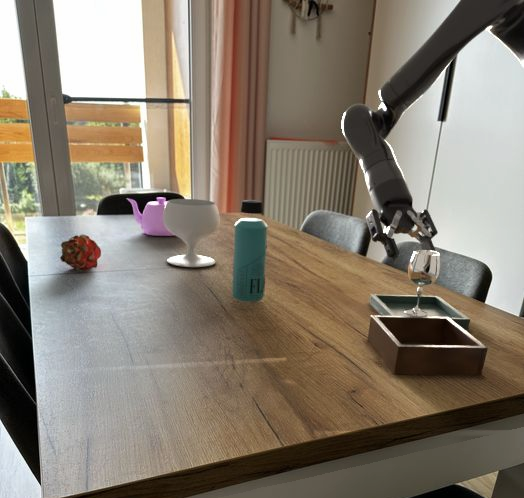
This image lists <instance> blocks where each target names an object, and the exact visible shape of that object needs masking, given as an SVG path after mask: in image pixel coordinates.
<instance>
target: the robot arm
mask: <svg viewBox="0 0 524 498" xmlns="http://www.w3.org/2000/svg"><path fill="white" fill-rule="evenodd" d="M484 31H488V32H489V33H490V34H492V35H493V37H495V38H496V39H498V41H500V42H501V43H502V44H503V45H504V46H505V47H506V48H507V49H508V50H510V52H511V53H513V55H514V56H515V57H516V58H517V60H518V61H519V62H520V64H521V66H522V67H523V68H524V0H459V1H458V2H457V4H456V5H455V7H453V9H451V12H449V14H448V15H447V16H446V17H445V18H444V20H443V21H442V22H441V23H440V24H439V26H438V27H437V28H436V29H435V31H434V32H433V33H432V34H431V35H430V36H429V37H428V38H427V39H426V41H425V42H424V43H423V44H421V46H420V47H419V48H418V49H417V50H416V51H415V52H414V53H413V54H412V55H411V56H410V57H409V58H408V59H407V60H406V61H405V63H403V64H402V65H400V67H399V68H398V69H397V70H396V71H395V72H394V73H393V74H392V75H391V76H390V77H389V78H388V79H387V80H386V81H385V82H384V83H383V84H382V85H381V87H380V88H379V89H378V96H379V98H380V101H381V103H380V105H379V107H378V108H377V109H376V110H374V109H372V108H371V107H369V106H368V105H366V104H364V103H354V104H352V105H350V106H348V107H347V108H346V110H345V112H344V113H343V116H342V119H341V129H342V134H343V136H344V139H345V141H346V142H347V144H348V145H349V147H350V149H351V150H352V152H353V154H354V156H355V157H356V158H357V160H358V162H359V166H360V168H361V171H362V173H363V177H364V180H365V185H366V188H367V191H368V194H369V197H370V200H371V203H372V205H373V209H371V210H370V212H369V213H368V214H367V215H366V217H365V220H366V224H367V227H368V231H369V234H370V238H371V241H372V242H374V243H377V242H379V243H381V244H382V245H383V247H384V250H385V253H386V256H387V257H388V258H389V260H390V261H395V260H397V259H398V258H399V257H400V251H399V248H398V246H397V243H396V240H395V238H393V236H394V235H399V234H403V235H408V236H410V237H411V238H415V240H417V241H418V242H419V243H420V244H419V245H420V248H421V250H430V251H435V252H436V248H435V246H434V243H433V241H432V239H433V238H434V237H435V236H437V235H438V230H437V228H436V225H435V222H434V221H433V219H432V216H431V213H430V212H429V210H428V209H423V210H422V211H420V212H417V211H416V210H415V209H414V207H413V200H414V199H413V196H412V194H411V190H410V188H409V186H408V183H407V180H406V178H405V176H404V173H403V170H402V169H401V167H400V166H399V164H398V162H397V158H396V155H395V154H394V150H393V148H392V147H391V145H390V144H389V143H388V142H387V141H386V139H387V138H388V137H389V135H390V134H391V132H392V131H393V130H394V128H395V127H396V126H397V124H398V123H399V121H400V120H401V118H402V116H403V115H404V113H405V111H407V110H408V109H409V108H410V107H412V106H413V104H415V103H416V102H417V101H418V100H419V99H420V98H421V97H422V96H424V94H425V93H427V92H428V90H429V89H430V88H431V87H432V86H433V85H434V84H435V83H436V81H437V80H438V79H439V78H440V77H441V76H442V75H443V73H444V72H445V70H446V69H447V68H448V66H449V65H450V64H451V62H452V61H453V60H454V59H455V57H456V56H457V55H459V53H460V52H462V50H463V49H464V48H465V47H466V46H468V44H469V43H470V42H472V41H473V40H474V39H475V38H477V37H478V36H479V35H480V34H482V33H483V32H484ZM382 224H383V225H384V229H383V225H382ZM415 226H416V229H414V228H415ZM413 229H414V230H413ZM420 233H421V234H422V235H421V234H420Z"/></svg>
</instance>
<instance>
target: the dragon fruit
mask: <svg viewBox="0 0 524 498" xmlns="http://www.w3.org/2000/svg"><path fill="white" fill-rule="evenodd" d="M60 247H61V256H60V257H59V258H60V261H61V262H62V263H65V264H66V265H68V266H69V267H71V268H73V269H74V270H76V271H78V272H83V271H85V270H86V269H87V268H89V269H96V268H97V267H98V259H99V258H101V255H102V250H101V248H100V246H99V245H98V244H97V242H96V241H95V240H94V239H92V238H90V236H89V235H87V234H80V235H74V236H72V237H70V238H69V239H68V240H64V241H62V242H61V244H60Z"/></svg>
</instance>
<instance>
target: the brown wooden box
mask: <svg viewBox="0 0 524 498" xmlns="http://www.w3.org/2000/svg"><path fill="white" fill-rule="evenodd" d="M368 326H369V327H368V333H367V341H368V343H369V344H370V345H371V347H372V348H373V350H374V351H375V352H376V354H377V355H378V357H380V358H381V360H382V361H383V363H384V364H385V365H386V367H387V368H388V369H389V371H391V373H392V374H393V375H395V376H482V374H483V369H484V366H485V362H486V357H487V354H488V351H489V350H488V349H489V347H487V346H486V345H485V344H484V343H482V342H481V341H480V340H479V339H477V338H476V337H474V336H473V335H472V334H470V333H469V332H468V330H464V329H463V328H462V327H460V326H459V325H458V324H456V323H455V322H454V321H453V320H451V319H450V318H449V317H423V316H381V315H379V314H376V315H373V314H371V315H370V321H369V325H368ZM402 343H418V344H402ZM419 343H421V344H419ZM422 343H423V344H422ZM424 343H427V344H424ZM429 343H431V344H429ZM437 344H438V345H437Z"/></svg>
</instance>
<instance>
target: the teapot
mask: <svg viewBox="0 0 524 498" xmlns="http://www.w3.org/2000/svg"><path fill="white" fill-rule="evenodd" d="M125 199H126V200H127V201H128V202H130V204H131V206H132V211H133V212H132V213H133V217H134V219H135V221H136V222H137V223H138V224H139V225H140V227H141V229H142V231H143V232H144V234H145V235H148V236H158V237H159V236H160V237H173V236H175V235H174V234H172V233H171V232H169V231H168V230H167V229H166V228H165V226H164V224H163V212H164V208H165V205H166V203H167V199H166V197H160V196H159V197H156V200H155V201H148V202H147V203H146V205H145V207H144V209H143V212H142V213H141V212H140V211H139V206H138V203H137V201H136V200H134V199H132V198H128V197H127V198H125Z"/></svg>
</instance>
